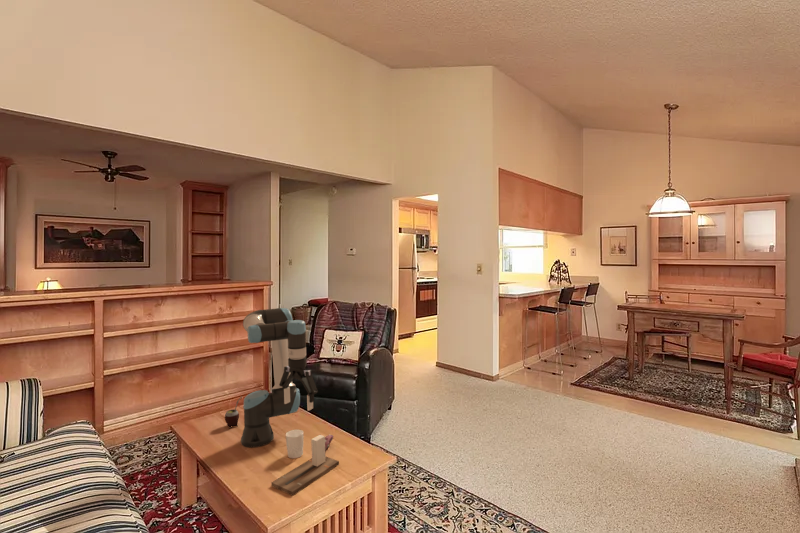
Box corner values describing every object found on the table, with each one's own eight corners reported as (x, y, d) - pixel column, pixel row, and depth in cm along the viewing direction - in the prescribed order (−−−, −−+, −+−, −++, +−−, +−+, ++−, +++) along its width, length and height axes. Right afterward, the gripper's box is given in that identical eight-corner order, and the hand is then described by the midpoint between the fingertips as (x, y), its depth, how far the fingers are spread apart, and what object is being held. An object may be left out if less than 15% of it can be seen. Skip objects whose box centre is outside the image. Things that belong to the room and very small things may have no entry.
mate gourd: (222, 428, 213) (221, 400, 212) (231, 422, 221) (230, 395, 220) (234, 429, 211) (233, 401, 211) (243, 423, 219) (242, 395, 219)
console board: (271, 486, 159) (271, 482, 159) (319, 457, 181) (318, 453, 181) (292, 495, 152) (292, 491, 152) (339, 464, 174) (338, 460, 174)
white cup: (307, 451, 186) (306, 430, 185) (297, 460, 178) (297, 438, 178) (292, 449, 188) (292, 428, 188) (282, 457, 181) (282, 435, 181)
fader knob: (312, 464, 171) (311, 439, 171) (320, 459, 175) (319, 434, 175) (317, 466, 169) (316, 440, 169) (325, 461, 173) (324, 436, 173)
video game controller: (323, 456, 184) (329, 443, 183) (314, 452, 185) (320, 439, 184) (330, 446, 194) (336, 434, 193) (322, 441, 194) (328, 429, 193)
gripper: (270, 355, 174) (271, 403, 175) (312, 363, 161) (314, 415, 162) (283, 351, 180) (284, 397, 182) (325, 359, 167) (326, 408, 169)
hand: (298, 406), depth 172 cm, fingers open, 13 cm apart
